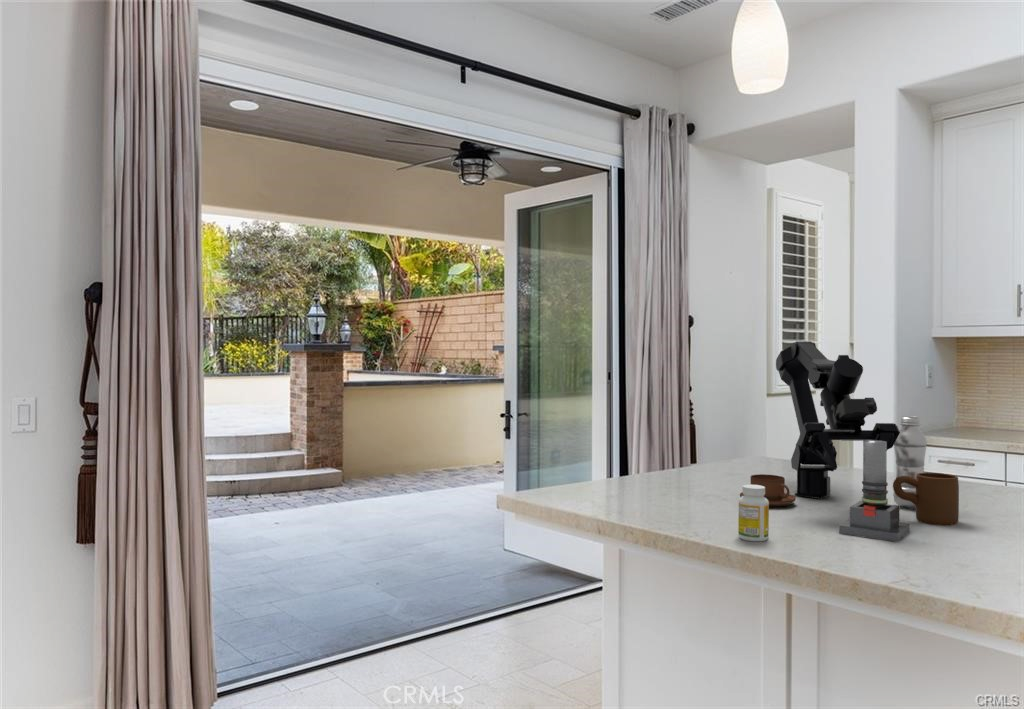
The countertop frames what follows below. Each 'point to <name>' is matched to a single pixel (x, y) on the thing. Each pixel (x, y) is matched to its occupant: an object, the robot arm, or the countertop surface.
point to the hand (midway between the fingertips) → (859, 468)
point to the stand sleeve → (875, 522)
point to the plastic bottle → (909, 455)
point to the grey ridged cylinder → (874, 472)
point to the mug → (932, 497)
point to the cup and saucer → (773, 489)
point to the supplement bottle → (753, 514)
